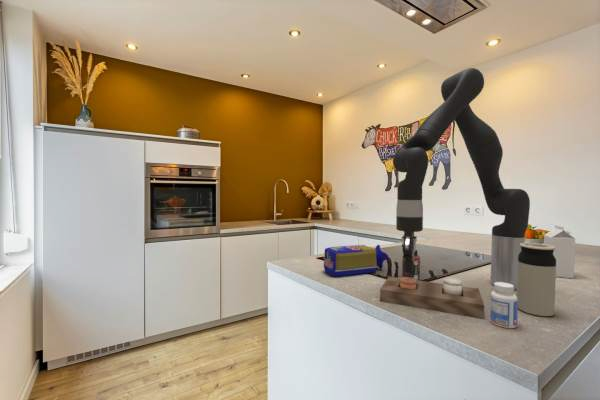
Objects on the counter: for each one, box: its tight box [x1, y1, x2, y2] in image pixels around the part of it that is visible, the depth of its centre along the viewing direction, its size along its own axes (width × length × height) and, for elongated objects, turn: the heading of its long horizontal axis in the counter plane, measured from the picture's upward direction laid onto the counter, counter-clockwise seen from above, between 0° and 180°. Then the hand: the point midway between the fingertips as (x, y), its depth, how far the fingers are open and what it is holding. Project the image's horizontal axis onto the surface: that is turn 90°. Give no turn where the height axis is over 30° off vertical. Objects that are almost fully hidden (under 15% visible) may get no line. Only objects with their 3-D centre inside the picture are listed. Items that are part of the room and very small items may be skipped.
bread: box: [323, 243, 389, 278], centre depth 116 cm, size 10×25×10 cm, turn 111°
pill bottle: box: [490, 282, 518, 329], centre depth 71 cm, size 6×5×10 cm
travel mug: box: [516, 242, 557, 317], centre depth 79 cm, size 8×8×18 cm
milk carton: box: [543, 225, 576, 279], centre depth 112 cm, size 7×7×19 cm
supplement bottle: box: [401, 249, 421, 281], centre depth 105 cm, size 6×6×11 cm
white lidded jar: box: [443, 276, 463, 296], centre depth 84 cm, size 5×5×5 cm
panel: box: [379, 276, 485, 319], centre depth 86 cm, size 26×14×4 cm, turn 63°
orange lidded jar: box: [399, 276, 416, 290], centre depth 89 cm, size 5×5×5 cm
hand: (408, 271), depth 89 cm, fingers closed
